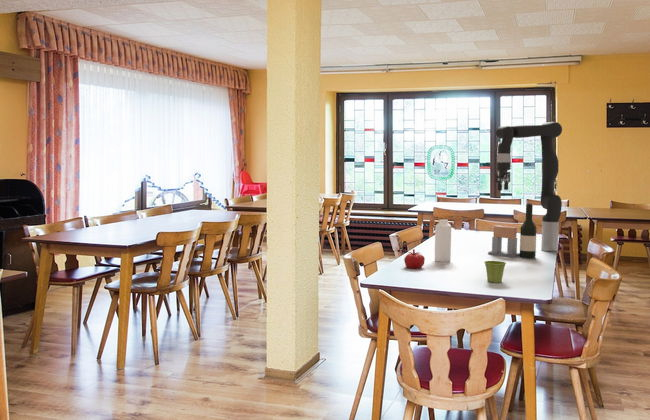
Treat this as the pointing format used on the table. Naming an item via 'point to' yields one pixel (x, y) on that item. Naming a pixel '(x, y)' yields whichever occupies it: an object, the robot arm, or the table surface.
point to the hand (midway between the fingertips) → (502, 190)
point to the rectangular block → (505, 232)
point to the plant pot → (494, 270)
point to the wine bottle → (528, 235)
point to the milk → (443, 241)
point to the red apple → (414, 260)
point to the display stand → (498, 246)
